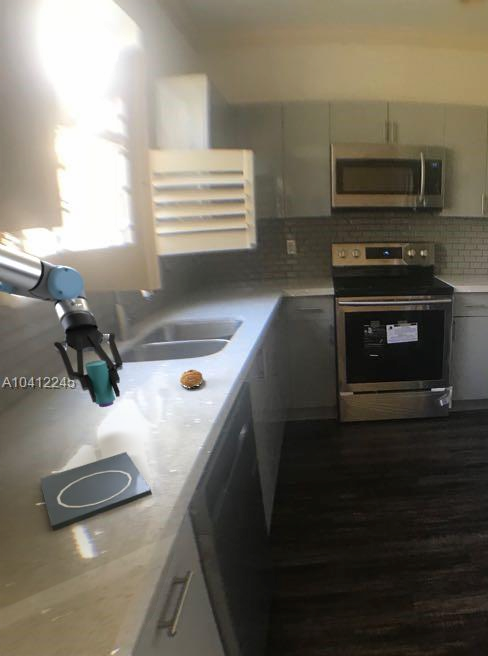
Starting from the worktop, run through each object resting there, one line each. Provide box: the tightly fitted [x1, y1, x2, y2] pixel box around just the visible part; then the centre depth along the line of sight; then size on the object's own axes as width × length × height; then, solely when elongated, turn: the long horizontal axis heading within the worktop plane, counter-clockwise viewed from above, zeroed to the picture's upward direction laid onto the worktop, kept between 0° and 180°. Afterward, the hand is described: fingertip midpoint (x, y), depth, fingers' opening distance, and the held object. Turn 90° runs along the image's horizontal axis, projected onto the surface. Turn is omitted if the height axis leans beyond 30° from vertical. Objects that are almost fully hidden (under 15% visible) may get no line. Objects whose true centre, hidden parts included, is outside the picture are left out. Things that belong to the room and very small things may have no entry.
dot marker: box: [84, 360, 116, 408], centre depth 113 cm, size 4×4×11 cm
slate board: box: [39, 451, 153, 531], centre depth 91 cm, size 20×16×1 cm
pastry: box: [179, 369, 204, 388], centre depth 143 cm, size 9×7×4 cm
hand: (106, 396), depth 112 cm, fingers closed on dot marker, 4 cm apart
